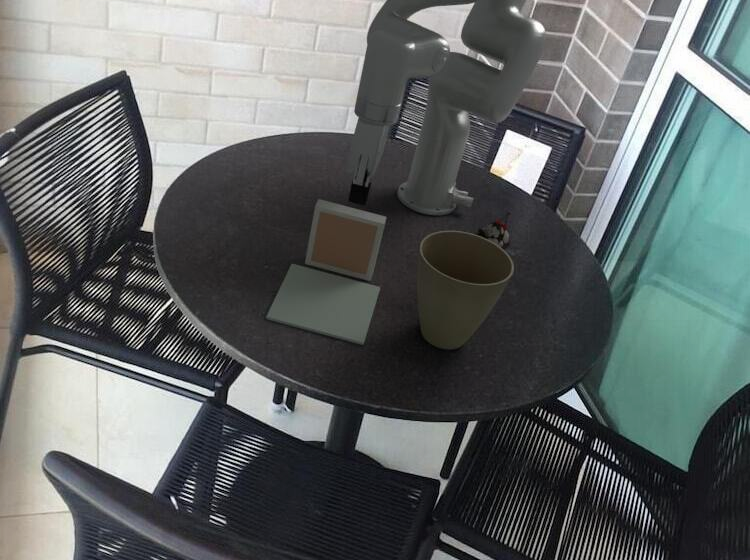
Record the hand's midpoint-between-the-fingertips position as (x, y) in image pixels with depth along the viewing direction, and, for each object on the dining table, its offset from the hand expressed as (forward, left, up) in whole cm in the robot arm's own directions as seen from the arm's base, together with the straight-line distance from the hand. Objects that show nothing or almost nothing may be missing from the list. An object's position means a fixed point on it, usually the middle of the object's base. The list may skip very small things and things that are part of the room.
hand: (357, 201), depth 145 cm
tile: (0, +8, -10) cm, 13 cm away
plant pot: (-20, +19, -10) cm, 29 cm away
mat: (0, +19, -10) cm, 21 cm away
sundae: (-25, +1, -10) cm, 27 cm away
